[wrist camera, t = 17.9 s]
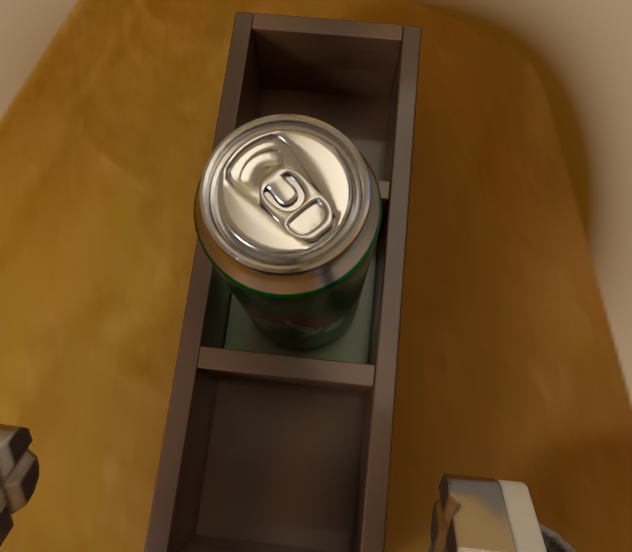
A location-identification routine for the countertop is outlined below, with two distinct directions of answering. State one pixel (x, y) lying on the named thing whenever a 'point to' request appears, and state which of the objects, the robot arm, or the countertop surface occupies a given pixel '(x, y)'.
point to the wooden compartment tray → (288, 363)
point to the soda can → (290, 225)
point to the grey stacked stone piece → (552, 541)
